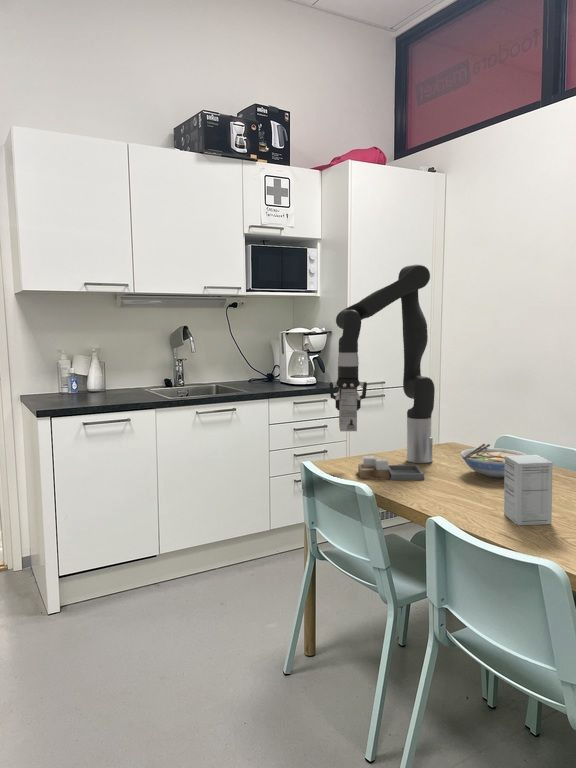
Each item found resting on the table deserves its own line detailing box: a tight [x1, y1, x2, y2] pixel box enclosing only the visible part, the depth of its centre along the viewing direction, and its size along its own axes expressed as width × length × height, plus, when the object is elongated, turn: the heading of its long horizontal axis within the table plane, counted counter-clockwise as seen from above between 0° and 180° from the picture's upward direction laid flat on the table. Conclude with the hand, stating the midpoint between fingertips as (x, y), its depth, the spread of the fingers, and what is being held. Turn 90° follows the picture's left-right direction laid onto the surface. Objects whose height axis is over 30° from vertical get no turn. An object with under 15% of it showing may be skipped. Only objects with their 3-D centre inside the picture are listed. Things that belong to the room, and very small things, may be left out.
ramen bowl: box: [460, 443, 528, 479], centre depth 200 cm, size 25×23×8 cm
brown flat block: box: [357, 463, 390, 479], centre depth 203 cm, size 10×9×3 cm
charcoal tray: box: [388, 464, 425, 481], centre depth 202 cm, size 11×13×2 cm
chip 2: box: [375, 458, 389, 470], centre depth 200 cm, size 4×4×3 cm
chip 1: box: [362, 455, 376, 467], centre depth 204 cm, size 4×4×3 cm
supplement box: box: [503, 454, 554, 526], centre depth 154 cm, size 10×9×17 cm
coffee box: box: [338, 387, 358, 432], centre depth 210 cm, size 9×6×16 cm
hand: (347, 409), depth 211 cm, fingers closed on coffee box, 6 cm apart
